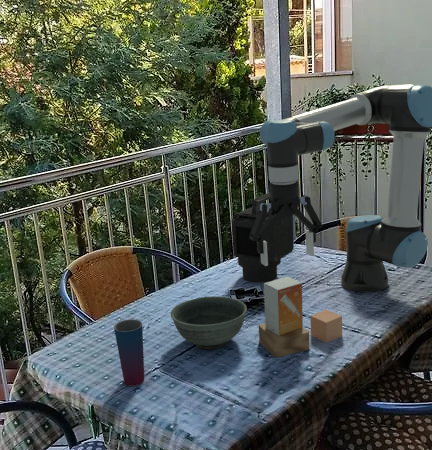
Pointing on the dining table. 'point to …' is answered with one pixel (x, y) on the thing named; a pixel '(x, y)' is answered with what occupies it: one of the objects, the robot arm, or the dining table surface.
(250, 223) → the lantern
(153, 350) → the dining table surface
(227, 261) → the dining table surface
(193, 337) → the bowl
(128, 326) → the cup
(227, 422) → the dining table surface
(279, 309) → the small box
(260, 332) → the walnut plinth
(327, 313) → the terracotta cube
